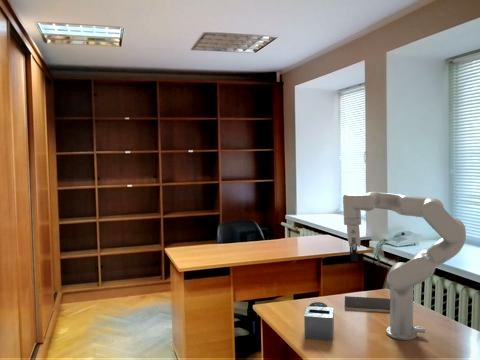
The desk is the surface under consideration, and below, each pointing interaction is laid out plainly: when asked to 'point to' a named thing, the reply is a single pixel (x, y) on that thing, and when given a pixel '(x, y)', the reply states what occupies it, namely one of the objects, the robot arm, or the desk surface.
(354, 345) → the desk surface
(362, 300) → the hardcover book
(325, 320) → the slot box
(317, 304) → the electronic device
